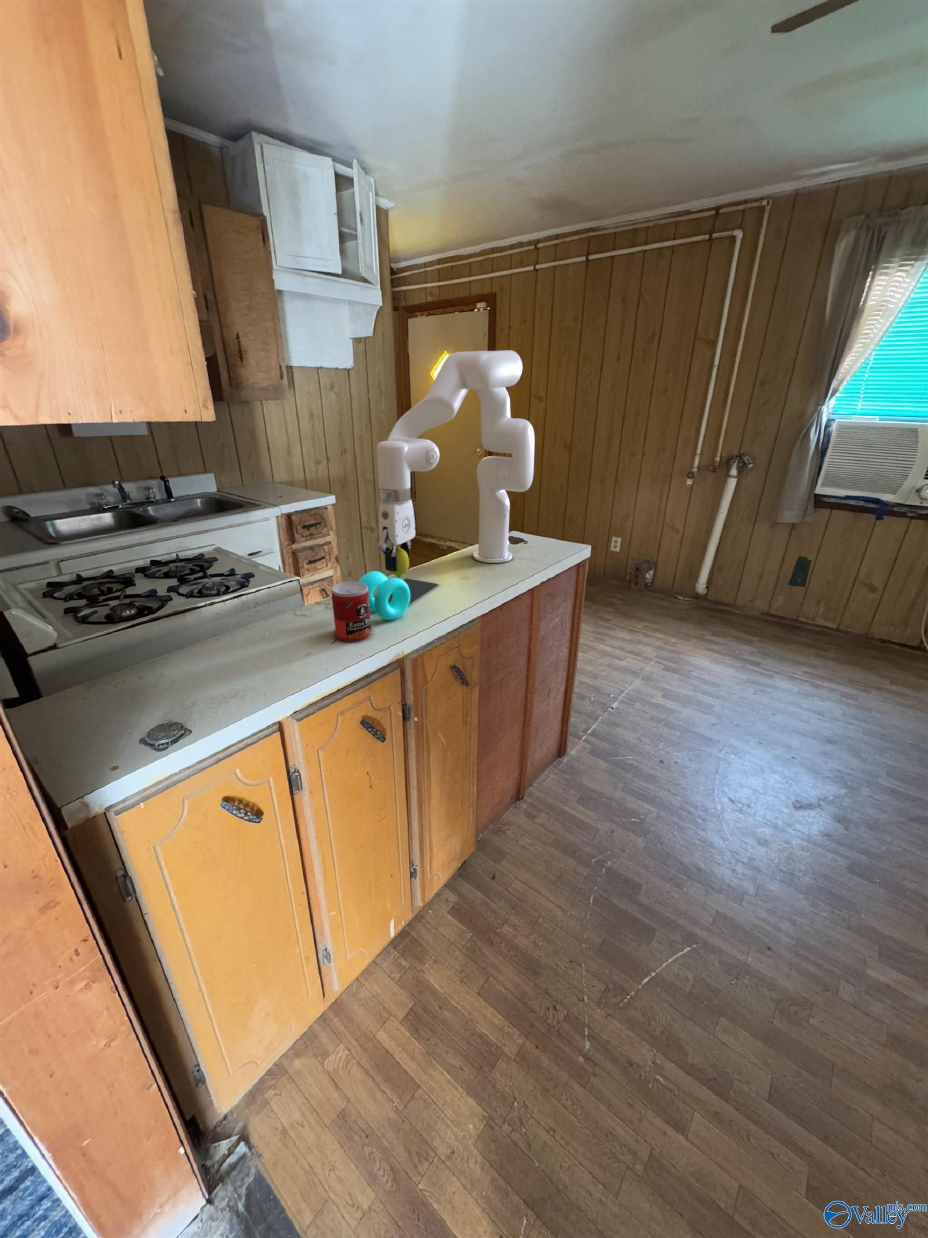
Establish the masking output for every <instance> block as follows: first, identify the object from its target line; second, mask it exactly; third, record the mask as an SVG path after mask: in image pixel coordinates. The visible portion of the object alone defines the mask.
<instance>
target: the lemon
mask: <svg viewBox="0 0 928 1238" xmlns="http://www.w3.org/2000/svg"><path fill="white" fill-rule="evenodd" d="M395 556H397V571H396V572H394V571H389V572H390V573H391V574H392V575H394V576H395V577H396V578H401V577H402V576H403V575H405V574H406V573H407V572H408V570H409V568H410V564H409V558H408V555H407V553H406V552H405V551H404V550H403V549H401V548H400V546H396V552H395Z"/></svg>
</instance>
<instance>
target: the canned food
mask: <svg viewBox="0 0 928 1238" xmlns="http://www.w3.org/2000/svg"><path fill="white" fill-rule="evenodd" d="M330 593H331V601H332V612H333V621H334V630H335V635H336V637H337V638H338V639H339V640H341V641H344V642H359V641H363V640H365V639H367V638H368V637H370V635H371V632H372V623H371V612H370V606H369V593H368V586H367V585H366V584H364V583H361V582H359V581H355V580H354V581H352V580H351V581H341V582H337V583H336V584H334V585H332V587H331V591H330Z"/></svg>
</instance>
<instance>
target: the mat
mask: <svg viewBox="0 0 928 1238" xmlns="http://www.w3.org/2000/svg"><path fill="white" fill-rule="evenodd" d="M402 580H403V581H405V582H406V584H407V585H408V587H409V590H410V602H409V605H410V604H412V603H413V602H415V601H416V600H418V599H419V598H421V597H422V596H424V595H425V594H428V592H430V591H431V590H433V589H434V588H436V587H438V585H439V584H438V583H434V582H429V581H423V580H417V579H411V578H405V579H402ZM392 598H393V594H392V593H391V595H390V596H389V599H388V603H390V602H391V600H392Z"/></svg>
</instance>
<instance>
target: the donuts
mask: <svg viewBox="0 0 928 1238" xmlns="http://www.w3.org/2000/svg"><path fill="white" fill-rule="evenodd" d="M403 580H404V579H402V578H400V577H391V578H388V576H387V575H385V574H384V573H383V572H381V571H376V570H373V571H369V572H367V573H365V574H364V575H363V576H361V577H360V579H358V582H361V583H364V584H366V585H367V586H368V593H369V606H370V613H374V612H376V613H377V615H378V616H379V617H380V618H381V619H383V620H386V621H394V620H397V619H398V618H401V616H403V615H404V613H405V612H406V611H407V609H408V607H409V605H410V604H409V602H410V590H409V587H408V585H407V584H406V582H405V581H403ZM376 589H377V590H376ZM375 590H376V592H375V595H374V591H375ZM391 593H392V594H393V598H392V600H391V602H390V603H388V599H389V596H390V595H391Z"/></svg>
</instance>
